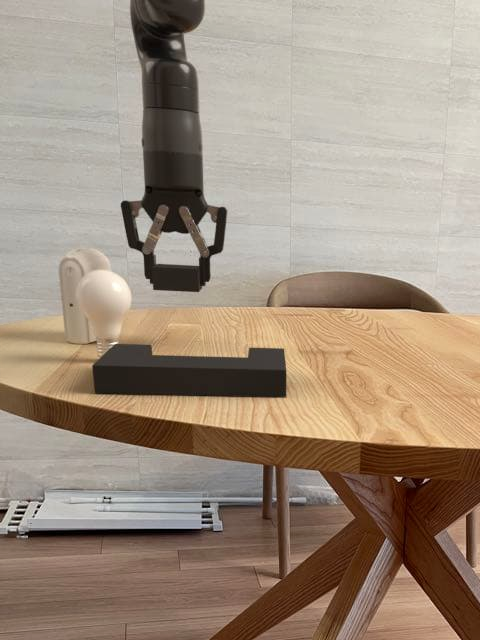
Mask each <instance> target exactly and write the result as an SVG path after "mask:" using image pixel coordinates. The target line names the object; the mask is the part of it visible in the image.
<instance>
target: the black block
mask: <svg viewBox="0 0 480 640" xmlns="http://www.w3.org/2000/svg"><path fill="white" fill-rule="evenodd" d="M152 276H153V284H152V290H153V291H162V292H163V291H164V292H165V291H166V292H185V293H200V292H201V290H202V289H203V286H200V271H199V265H192V264H191V265H189V264H188V265H187V264H169V263H156V265H155V266H153V267H152Z"/></svg>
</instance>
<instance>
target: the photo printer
mask: <svg viewBox="0 0 480 640" xmlns="http://www.w3.org/2000/svg"><path fill="white" fill-rule="evenodd" d="M99 269H103V270H109V271H112V267H111V263H110V260H109V258H108V257H107V256H106V255H105V254H104V253H103V252H101V251H100V250H98V249H96V248H92V247H84V246H83V247H76V248H73V249H72V250H69V252H66V254H65V255H63V257H62V258H61V260H60V262H59V263H58V278H59V279H58V280H59V289H60V290H59V291H60V298H61V299H60V300H61V308H62V309H61V310H62V318H63V329H64V338H65V340H66V341H67V342H69V343H70V344H76V345H88V344H90V343H93V342H97V341H96V336H95V335H94V333H93V330H92V326H91V323H90V322H89V320H88V319H87V317H86V316H85V315H84V313H83V312H82V310H81V309H80V307H79V305H78V302H77V297H76V290H77V286H78V283H79V282H80V280H81V279H82V277H83V276H84V275H86V274H87V273H89V272H91V271H94V270H99Z"/></svg>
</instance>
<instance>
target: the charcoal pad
mask: <svg viewBox="0 0 480 640" xmlns="http://www.w3.org/2000/svg"><path fill="white" fill-rule="evenodd" d="M91 367H92V368H91V369H92V378H93V392H94V394H96V395H98V394H100V395H101V394H102V395H143V396H144V395H150V396H152V395H153V396H196V397H197V396H202V397H203V396H204V397H205V396H206V397H253V398H254V397H256V398H260V397H261V398H287V362H286V354H285V348H281V347H280V348H278V347H248V353H247V357H244V356H243V357H239V356H208V355H207V356H206V355H205V356H203V355H169V354H168V355H167V354H153V346H152V344H138V343H136V344H135V343H119V344H114V345H113V346H112V347H111V348H110V349H109V350H108V351H107V352H106V353H105V354H104V355H103V356H102V357H101V358H100V357H99V358H98V359H97V360H96V361H95V362H94V363H93V364H92V366H91Z"/></svg>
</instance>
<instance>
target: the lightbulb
mask: <svg viewBox="0 0 480 640" xmlns="http://www.w3.org/2000/svg"><path fill="white" fill-rule="evenodd" d="M76 297H77V302H78V305H79V307H80V309H81V310H82V312H83V313H84V315H85V316H86V317H87V319H88V320H89V322H90V323H91V326H92V330H93V333H94V335H95V336H96V341H95V342H96V345H97V346H96V348H97V350H96V352H97V357H98V358H99V359H100V358H101V357H102V356H103V355H104V354H105V353H106V352H107V351H108V350H109V349H110V348H111V347H112V346H113V345H114V344H120V336H121V333H122V327H123V323H124V320H125V318H126V317H127V315H128V314H129V312H130V310H131V307H132V303H133V302H132V301H133V298H132V292H131V288H130V286H129V285H128V283H127V282H126V280H125V279H124V278H123V277H122V276H121V275H120V274H118V273H116V272H114V271H112V270H111V271H109V270H103V269H99V270H94V271H91V272H89V273H87V274H86V275H84V276H83V277H82V279H81V280H80V282H79V283H78V286H77V290H76Z"/></svg>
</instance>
